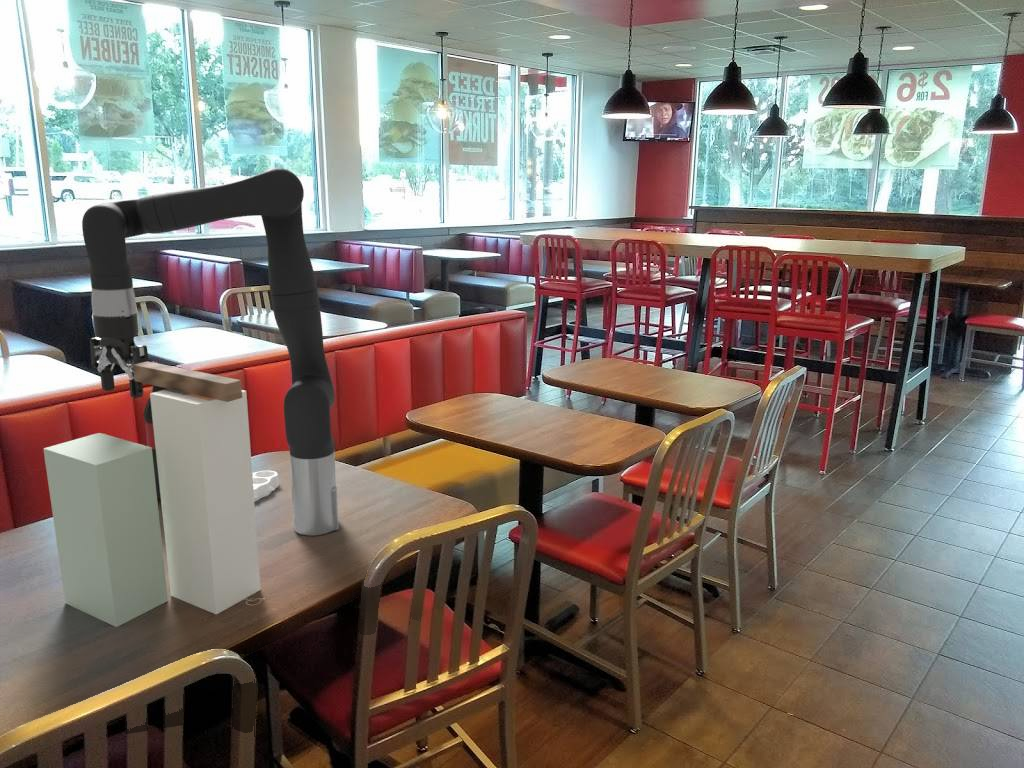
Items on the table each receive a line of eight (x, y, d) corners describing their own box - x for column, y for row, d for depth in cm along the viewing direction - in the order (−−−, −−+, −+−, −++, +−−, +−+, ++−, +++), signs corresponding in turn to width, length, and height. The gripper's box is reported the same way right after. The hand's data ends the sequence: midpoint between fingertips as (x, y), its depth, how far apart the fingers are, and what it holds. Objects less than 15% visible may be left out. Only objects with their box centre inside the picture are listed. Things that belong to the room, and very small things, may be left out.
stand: (171, 595, 144) (149, 392, 134) (216, 572, 152) (199, 380, 142) (216, 614, 138) (197, 404, 128) (260, 589, 146) (246, 390, 137)
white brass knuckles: (246, 477, 201) (292, 487, 195) (191, 502, 185) (239, 514, 179) (245, 464, 200) (291, 474, 194) (189, 489, 184) (238, 500, 178)
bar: (134, 381, 141) (132, 364, 141) (149, 377, 144) (147, 361, 143) (227, 401, 130) (226, 384, 129) (242, 397, 132) (240, 380, 131)
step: (65, 603, 141) (43, 448, 133) (117, 579, 149) (99, 432, 142) (116, 627, 134) (96, 465, 126) (167, 600, 142) (151, 447, 135)
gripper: (72, 309, 151) (81, 392, 155) (121, 318, 144) (129, 404, 149) (108, 305, 157) (116, 384, 161) (157, 313, 151) (163, 395, 155)
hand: (122, 393), depth 155 cm, fingers open, 8 cm apart
